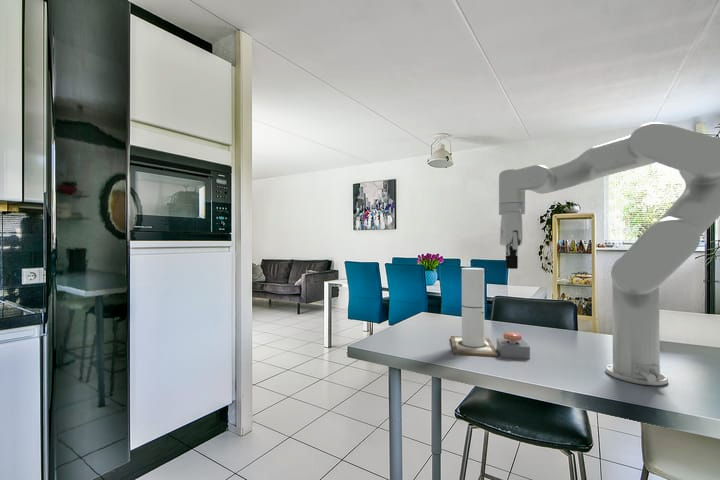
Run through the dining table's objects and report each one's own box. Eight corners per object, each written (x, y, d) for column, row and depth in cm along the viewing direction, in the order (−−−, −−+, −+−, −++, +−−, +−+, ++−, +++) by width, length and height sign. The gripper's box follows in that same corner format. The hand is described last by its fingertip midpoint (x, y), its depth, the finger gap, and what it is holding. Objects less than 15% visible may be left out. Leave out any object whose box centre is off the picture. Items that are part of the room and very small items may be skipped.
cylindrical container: (457, 342, 117) (457, 268, 117) (474, 339, 120) (474, 267, 120) (471, 348, 110) (470, 269, 111) (489, 345, 113) (488, 269, 113)
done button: (523, 349, 105) (523, 337, 105) (505, 347, 106) (505, 336, 106) (519, 344, 110) (519, 332, 110) (502, 343, 111) (502, 331, 111)
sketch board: (497, 356, 105) (497, 353, 105) (453, 353, 108) (453, 350, 108) (488, 340, 123) (488, 337, 123) (450, 338, 125) (450, 335, 125)
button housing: (529, 358, 103) (529, 347, 103) (501, 357, 105) (501, 345, 105) (523, 350, 111) (523, 339, 111) (496, 348, 113) (496, 338, 113)
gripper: (494, 211, 116) (494, 266, 116) (503, 207, 102) (503, 270, 102) (518, 211, 115) (518, 266, 115) (531, 207, 100) (531, 270, 100)
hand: (511, 268), depth 108 cm, fingers closed
